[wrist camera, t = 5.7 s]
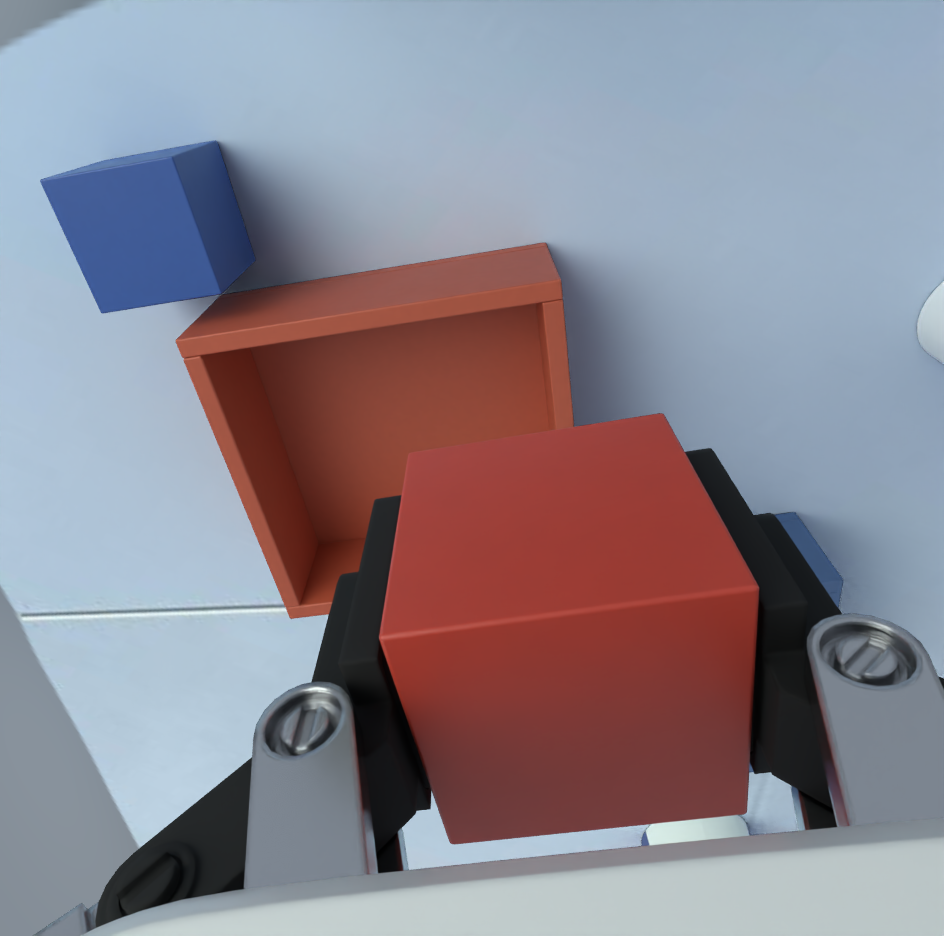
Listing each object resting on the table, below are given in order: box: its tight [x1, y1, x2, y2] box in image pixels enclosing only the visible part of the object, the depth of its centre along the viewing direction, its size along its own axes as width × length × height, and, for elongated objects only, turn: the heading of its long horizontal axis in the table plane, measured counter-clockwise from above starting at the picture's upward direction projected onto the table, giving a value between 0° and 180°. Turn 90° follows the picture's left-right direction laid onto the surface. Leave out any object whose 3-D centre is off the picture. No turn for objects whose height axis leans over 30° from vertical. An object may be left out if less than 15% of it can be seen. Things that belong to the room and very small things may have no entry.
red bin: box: [176, 243, 574, 619], centre depth 28 cm, size 13×13×5 cm
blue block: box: [40, 140, 255, 313], centre depth 24 cm, size 4×4×4 cm
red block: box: [379, 413, 759, 844], centre depth 11 cm, size 4×4×4 cm
